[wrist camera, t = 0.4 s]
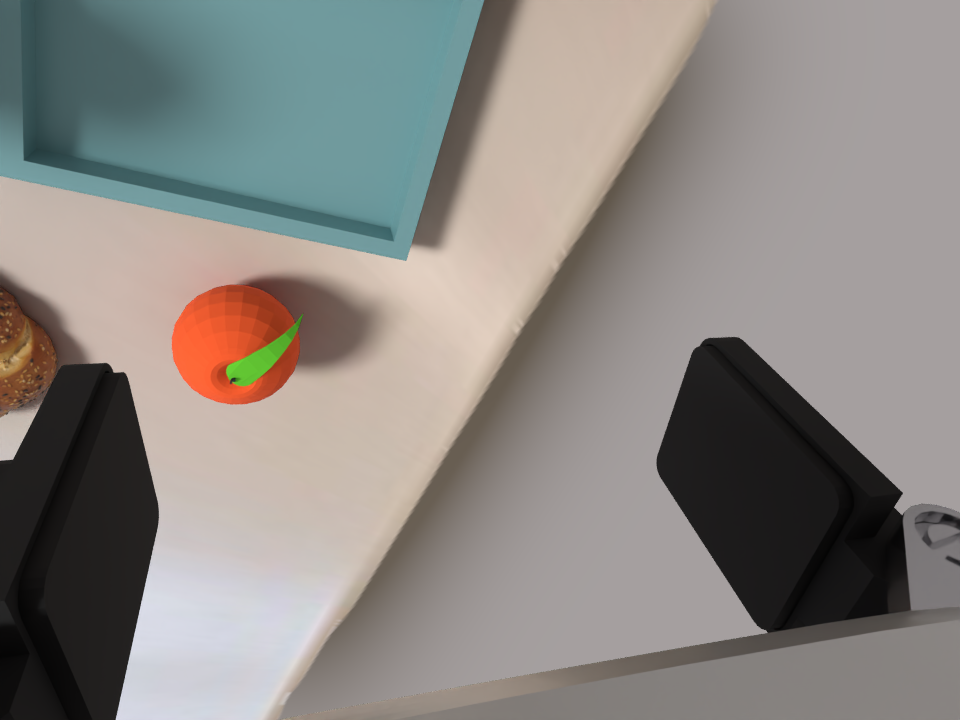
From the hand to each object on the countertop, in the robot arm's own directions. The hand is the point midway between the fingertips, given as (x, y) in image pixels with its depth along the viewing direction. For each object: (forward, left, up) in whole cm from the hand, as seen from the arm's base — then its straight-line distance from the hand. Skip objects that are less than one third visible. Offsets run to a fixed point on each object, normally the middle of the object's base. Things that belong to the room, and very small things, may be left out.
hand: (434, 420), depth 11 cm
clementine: (+15, -2, -29) cm, 33 cm away
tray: (+1, -4, -29) cm, 29 cm away
